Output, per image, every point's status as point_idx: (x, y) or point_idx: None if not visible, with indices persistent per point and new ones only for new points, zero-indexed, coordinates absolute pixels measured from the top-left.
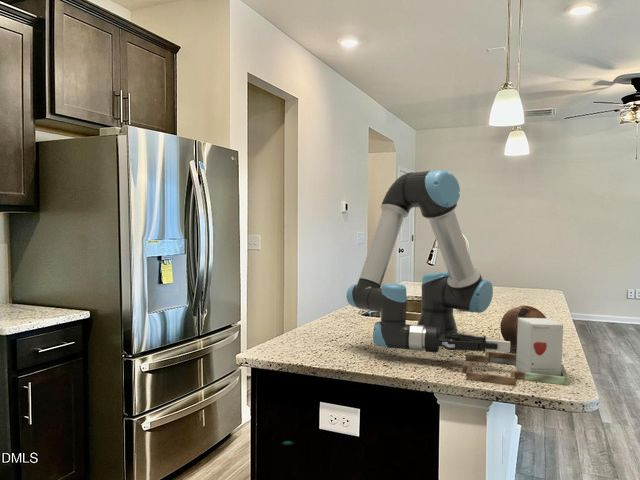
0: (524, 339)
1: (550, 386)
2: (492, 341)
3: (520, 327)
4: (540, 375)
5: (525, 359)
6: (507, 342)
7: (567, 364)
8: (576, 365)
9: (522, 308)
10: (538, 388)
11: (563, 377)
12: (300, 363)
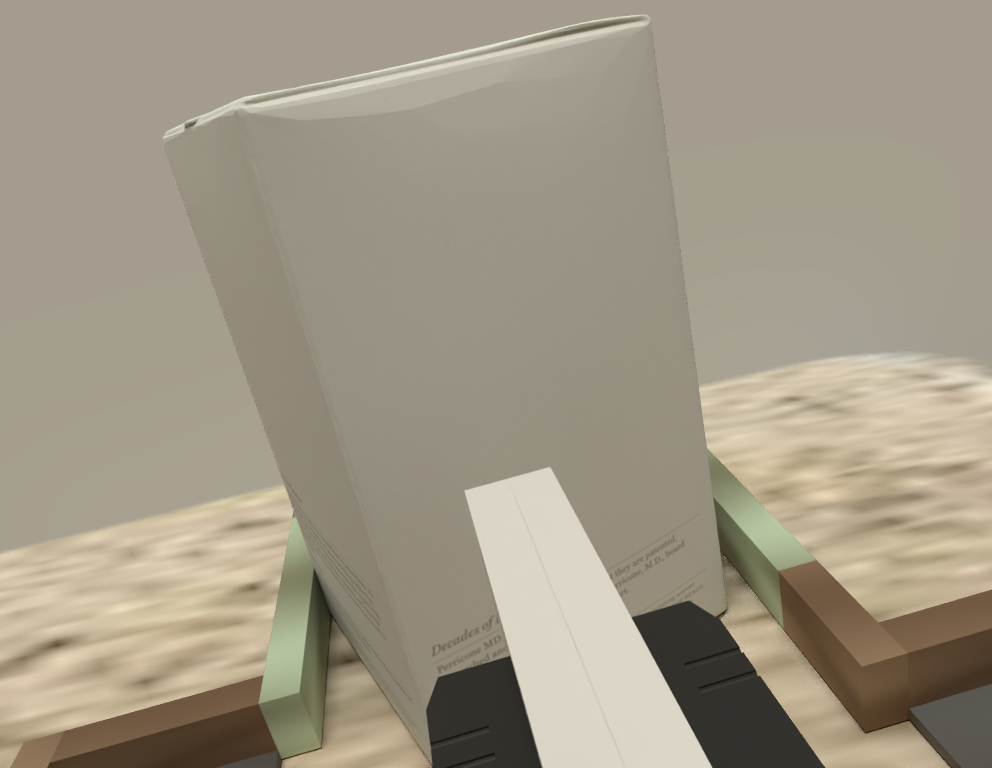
0: (570, 303)
1: (803, 483)
2: (646, 662)
3: (404, 211)
4: (746, 491)
5: (647, 501)
6: (561, 488)
7: (115, 571)
8: (134, 539)
9: None
10: (950, 503)
11: None
12: None
